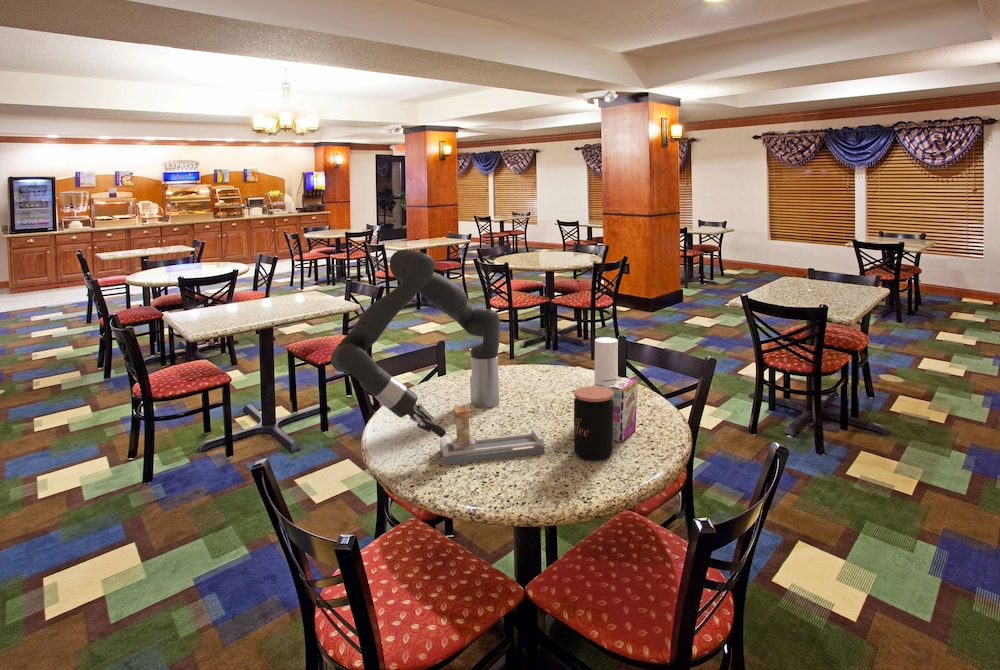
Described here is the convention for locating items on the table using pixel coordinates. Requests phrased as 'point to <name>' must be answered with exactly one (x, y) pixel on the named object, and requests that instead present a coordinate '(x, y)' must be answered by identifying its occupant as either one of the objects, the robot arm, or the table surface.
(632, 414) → the candy bar box
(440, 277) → the robot arm
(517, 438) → the track
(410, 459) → the table surface
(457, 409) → the slider
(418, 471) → the table surface
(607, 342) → the cylindrical container
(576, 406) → the coffee jar
